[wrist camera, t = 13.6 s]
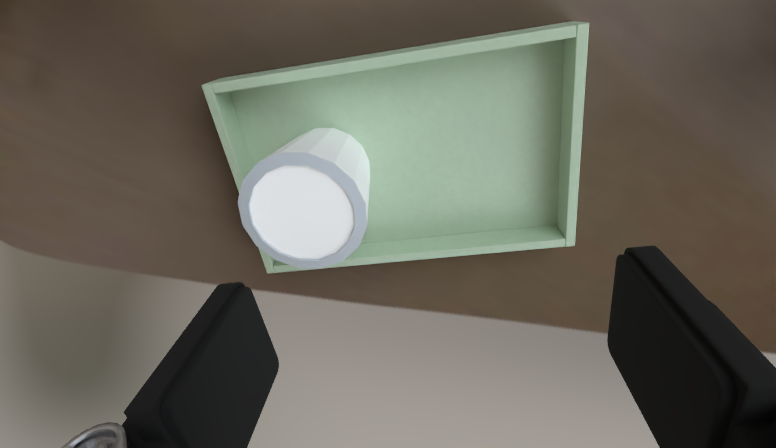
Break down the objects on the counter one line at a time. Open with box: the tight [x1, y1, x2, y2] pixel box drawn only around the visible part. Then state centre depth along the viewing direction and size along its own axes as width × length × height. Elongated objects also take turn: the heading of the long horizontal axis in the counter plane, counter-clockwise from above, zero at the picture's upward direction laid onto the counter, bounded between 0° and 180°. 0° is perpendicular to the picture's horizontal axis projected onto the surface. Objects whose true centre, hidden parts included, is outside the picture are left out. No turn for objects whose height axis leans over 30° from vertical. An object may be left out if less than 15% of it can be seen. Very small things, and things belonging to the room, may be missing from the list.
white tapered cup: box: [238, 128, 370, 269], centre depth 24 cm, size 7×7×7 cm
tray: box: [202, 21, 589, 273], centre depth 26 cm, size 21×13×2 cm, turn 99°
